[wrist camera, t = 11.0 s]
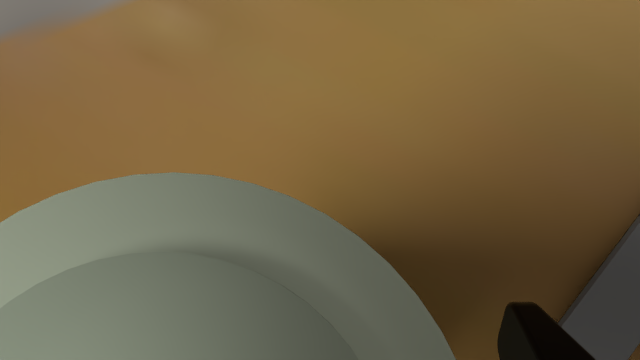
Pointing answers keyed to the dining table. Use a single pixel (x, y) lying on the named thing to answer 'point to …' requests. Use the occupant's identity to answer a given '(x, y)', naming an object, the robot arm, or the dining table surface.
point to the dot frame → (610, 304)
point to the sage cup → (199, 279)
